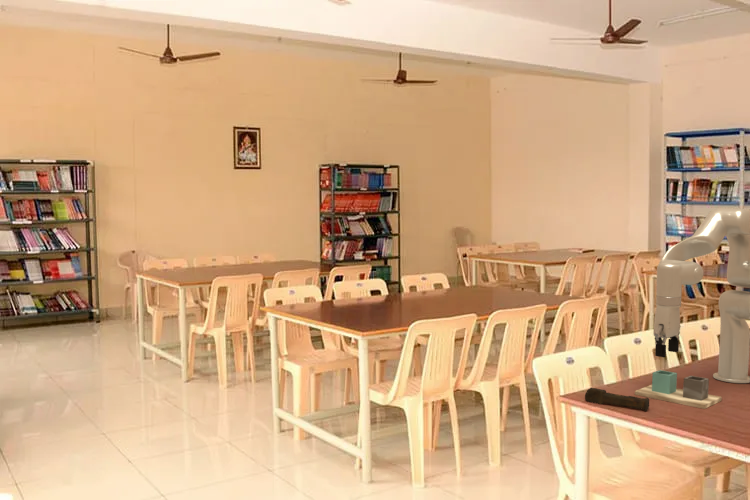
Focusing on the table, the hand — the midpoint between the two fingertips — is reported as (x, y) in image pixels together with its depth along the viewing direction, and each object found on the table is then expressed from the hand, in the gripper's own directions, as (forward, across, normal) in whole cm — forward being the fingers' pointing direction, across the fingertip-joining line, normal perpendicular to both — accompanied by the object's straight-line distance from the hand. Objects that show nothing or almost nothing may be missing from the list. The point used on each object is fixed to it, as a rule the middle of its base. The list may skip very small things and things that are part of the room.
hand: (666, 354), depth 242 cm
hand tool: (+13, +26, -4) cm, 29 cm away
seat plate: (+13, +1, +4) cm, 14 cm away
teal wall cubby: (+12, +1, 0) cm, 12 cm away
